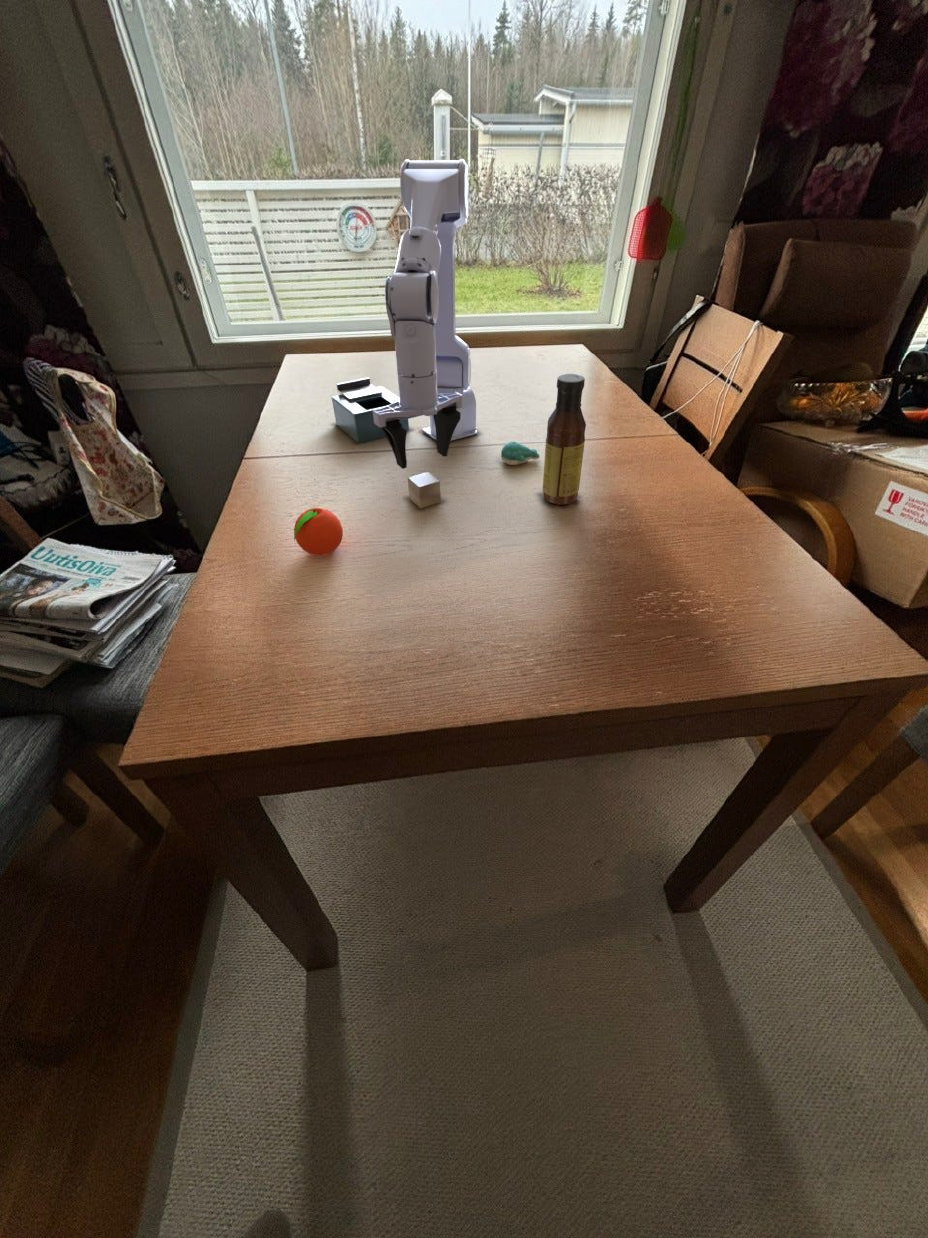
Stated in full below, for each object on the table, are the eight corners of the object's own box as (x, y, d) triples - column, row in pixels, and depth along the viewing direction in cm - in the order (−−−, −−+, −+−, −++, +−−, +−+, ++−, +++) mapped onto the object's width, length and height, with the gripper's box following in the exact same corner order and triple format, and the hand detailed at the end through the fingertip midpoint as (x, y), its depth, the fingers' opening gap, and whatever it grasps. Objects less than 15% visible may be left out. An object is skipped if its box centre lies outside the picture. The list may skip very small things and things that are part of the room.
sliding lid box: (384, 412, 117) (381, 385, 113) (409, 430, 109) (407, 402, 105) (336, 424, 112) (331, 396, 108) (358, 443, 105) (354, 414, 101)
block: (429, 492, 89) (428, 471, 87) (440, 502, 87) (440, 480, 84) (409, 498, 88) (407, 477, 85) (420, 508, 85) (419, 487, 83)
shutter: (369, 385, 113) (368, 377, 112) (382, 393, 109) (381, 385, 108) (337, 391, 110) (336, 383, 109) (349, 400, 106) (348, 392, 105)
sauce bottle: (579, 492, 89) (600, 373, 76) (573, 509, 85) (593, 386, 71) (543, 486, 91) (557, 368, 77) (535, 503, 87) (548, 381, 73)
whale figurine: (498, 455, 100) (499, 436, 98) (534, 453, 101) (536, 434, 98) (503, 468, 96) (504, 449, 93) (541, 466, 97) (543, 447, 94)
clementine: (319, 574, 72) (308, 532, 67) (284, 559, 75) (272, 517, 70) (355, 547, 77) (348, 506, 72) (322, 533, 80) (313, 493, 75)
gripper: (384, 388, 68) (394, 481, 77) (473, 369, 73) (472, 458, 83) (362, 374, 72) (374, 463, 81) (448, 357, 78) (450, 443, 87)
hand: (422, 460), depth 82 cm, fingers open, 7 cm apart
